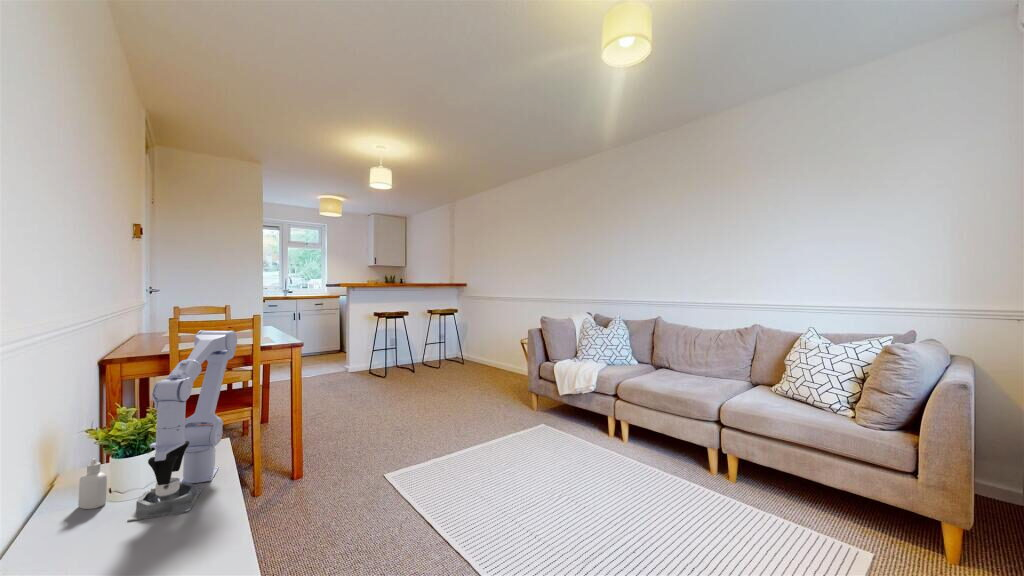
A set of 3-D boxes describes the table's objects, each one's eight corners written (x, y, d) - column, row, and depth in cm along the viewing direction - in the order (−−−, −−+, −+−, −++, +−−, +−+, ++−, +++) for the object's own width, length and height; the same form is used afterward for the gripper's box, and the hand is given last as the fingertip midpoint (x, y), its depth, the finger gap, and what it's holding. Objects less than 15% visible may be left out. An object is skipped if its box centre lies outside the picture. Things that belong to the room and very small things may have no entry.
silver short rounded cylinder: (181, 497, 108) (182, 476, 108) (174, 506, 104) (175, 484, 104) (154, 500, 106) (155, 479, 106) (146, 510, 102) (147, 488, 102)
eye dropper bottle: (100, 498, 107) (102, 453, 107) (107, 505, 104) (109, 458, 104) (76, 505, 103) (79, 458, 103) (82, 513, 100) (84, 464, 100)
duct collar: (147, 497, 108) (147, 486, 108) (202, 490, 113) (202, 479, 113) (127, 521, 97) (127, 509, 97) (189, 511, 102) (189, 500, 102)
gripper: (161, 418, 110) (159, 468, 110) (139, 436, 97) (137, 493, 97) (193, 415, 113) (191, 464, 113) (176, 433, 100) (174, 488, 100)
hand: (168, 477), depth 105 cm, fingers open, 7 cm apart
